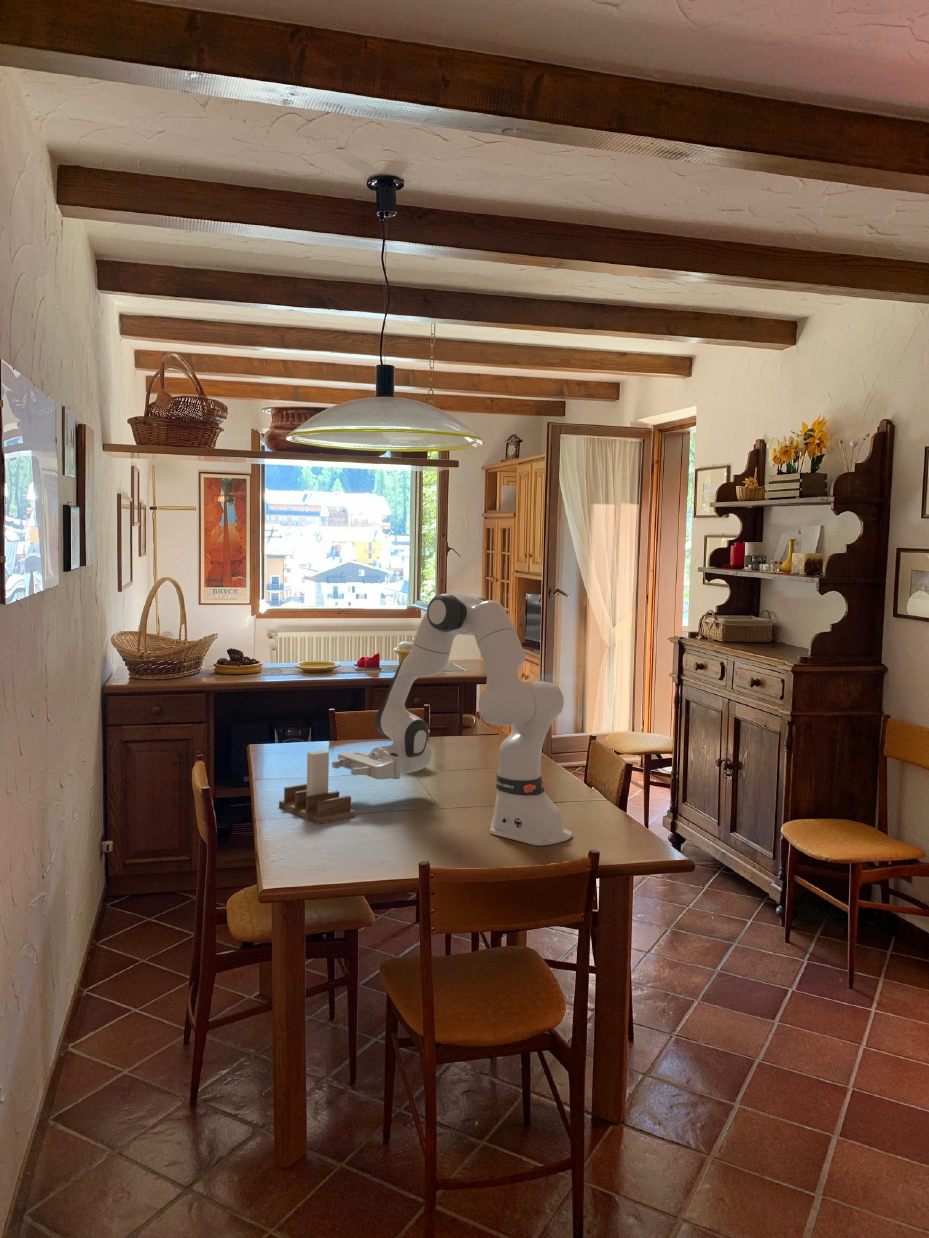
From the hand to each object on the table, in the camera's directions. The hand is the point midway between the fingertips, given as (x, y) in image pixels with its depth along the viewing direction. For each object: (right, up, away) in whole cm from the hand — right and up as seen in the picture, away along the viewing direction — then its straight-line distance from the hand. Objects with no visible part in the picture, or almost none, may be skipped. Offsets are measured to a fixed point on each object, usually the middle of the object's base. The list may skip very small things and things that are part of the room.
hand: (342, 768), depth 259 cm
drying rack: (-7, -11, -4) cm, 14 cm away
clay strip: (-7, -10, -5) cm, 12 cm away
